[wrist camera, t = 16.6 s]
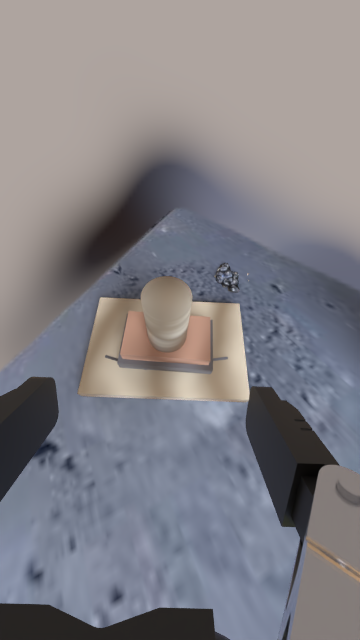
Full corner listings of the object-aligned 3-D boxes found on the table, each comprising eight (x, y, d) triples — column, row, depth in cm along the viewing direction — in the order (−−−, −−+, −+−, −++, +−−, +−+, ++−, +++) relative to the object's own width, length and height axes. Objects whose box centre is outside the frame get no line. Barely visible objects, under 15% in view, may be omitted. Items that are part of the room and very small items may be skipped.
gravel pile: (237, 258, 37) (239, 248, 35) (264, 294, 33) (269, 285, 31) (199, 269, 36) (200, 260, 34) (223, 308, 32) (225, 299, 30)
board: (236, 309, 31) (239, 303, 30) (246, 402, 25) (250, 399, 24) (103, 303, 31) (100, 297, 29) (82, 396, 25) (77, 393, 24)
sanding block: (210, 325, 28) (229, 271, 19) (210, 374, 25) (232, 336, 16) (129, 319, 28) (110, 262, 19) (119, 367, 25) (93, 326, 16)
